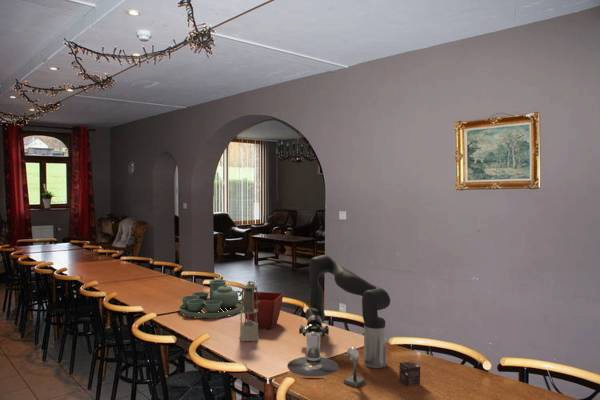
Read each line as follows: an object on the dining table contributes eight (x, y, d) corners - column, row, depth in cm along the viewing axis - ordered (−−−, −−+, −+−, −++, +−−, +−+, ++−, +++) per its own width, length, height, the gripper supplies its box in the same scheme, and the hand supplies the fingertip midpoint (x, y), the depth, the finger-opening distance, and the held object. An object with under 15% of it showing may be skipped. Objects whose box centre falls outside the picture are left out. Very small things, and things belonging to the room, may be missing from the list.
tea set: (174, 306, 301) (174, 282, 300) (233, 300, 318) (233, 277, 317) (186, 322, 265) (186, 294, 264) (251, 315, 282) (251, 288, 281)
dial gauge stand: (365, 382, 182) (365, 346, 182) (356, 387, 178) (357, 350, 177) (346, 376, 188) (346, 341, 188) (338, 381, 184) (338, 345, 183)
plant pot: (241, 329, 252) (241, 298, 252) (252, 319, 271) (252, 291, 271) (274, 331, 248) (274, 300, 247) (283, 321, 266) (283, 293, 266)
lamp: (252, 334, 243) (252, 278, 242) (266, 340, 233) (266, 282, 232) (235, 338, 236) (235, 280, 236) (248, 345, 226) (248, 284, 226)
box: (398, 380, 185) (399, 362, 184) (411, 378, 187) (411, 360, 187) (407, 386, 179) (407, 368, 179) (420, 384, 181) (420, 366, 181)
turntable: (337, 359, 206) (337, 356, 206) (339, 380, 184) (339, 376, 184) (289, 358, 207) (289, 355, 207) (285, 378, 185) (285, 375, 185)
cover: (320, 356, 206) (320, 330, 206) (320, 362, 200) (320, 335, 200) (306, 356, 207) (306, 330, 206) (305, 361, 200) (305, 334, 200)
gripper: (300, 316, 231) (298, 326, 215) (328, 317, 230) (329, 327, 214) (300, 331, 231) (298, 342, 215) (328, 331, 230) (328, 342, 214)
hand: (313, 334), depth 214 cm, fingers open, 8 cm apart
